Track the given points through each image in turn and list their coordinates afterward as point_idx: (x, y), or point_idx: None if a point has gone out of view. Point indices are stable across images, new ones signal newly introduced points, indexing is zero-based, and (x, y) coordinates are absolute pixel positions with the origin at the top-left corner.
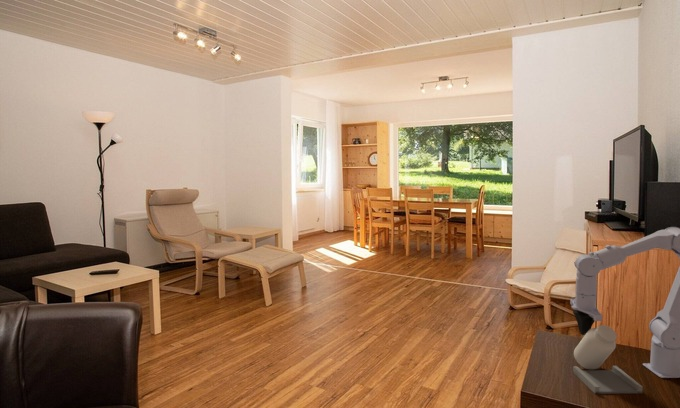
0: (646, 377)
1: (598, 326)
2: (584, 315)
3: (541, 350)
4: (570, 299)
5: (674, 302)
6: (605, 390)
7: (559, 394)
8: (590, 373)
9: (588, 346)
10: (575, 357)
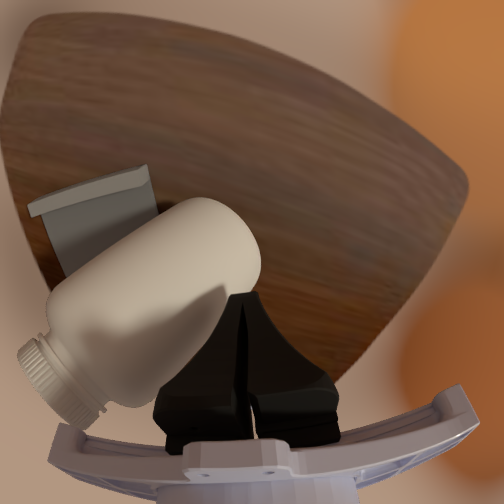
0: None
1: (48, 399)
2: (171, 429)
3: (339, 99)
4: (476, 419)
5: None
6: (50, 230)
7: (18, 99)
8: (136, 222)
9: (77, 270)
10: (193, 199)
